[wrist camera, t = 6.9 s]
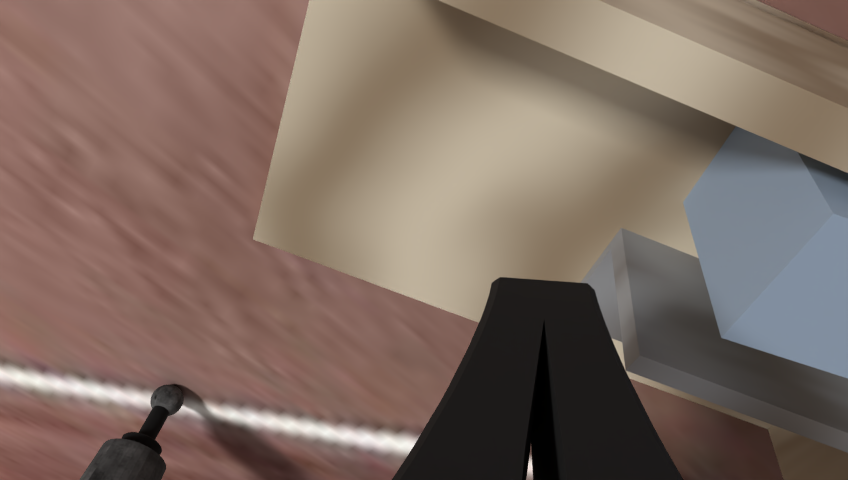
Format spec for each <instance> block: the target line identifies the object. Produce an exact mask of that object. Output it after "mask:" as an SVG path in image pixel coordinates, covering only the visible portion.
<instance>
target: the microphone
mask: <svg viewBox="0 0 848 480" xmlns="http://www.w3.org/2000/svg"><path fill="white" fill-rule="evenodd" d="M182 404H183V394H182V392H181V390H180V389H179V388H178V387H176V386H174V385H163V386H161V387H159V388H158V389H156V390H155V391H154V393H153V394H152V397H151V407H152V411H151V412H150V414H149V416H148V417H147V419H146V421H145V423H144V424H143V426H142V428H141V429H140V431H139V433H137V432H130V433H126V434H124V435H123V437H122V439H110V440H108V441H106V442H105V443H104V444H103V445H102V447H101V448H100V450H99V451H98V453H97V454H96V456H95V457H94V459H93V460H92V462H91V463H90V465H89V466H88V468H87V469H86V471H85V472H84V474H83V475H82V477H81V478H80V480H161V479H162V476H163V474H164V472H165V470H166V464H165V462H164V460H163V459H162V457H161V456H160V454H161V452H162V449H161V446H160V445H159V443H158V442H157V441H156V440H155V439H156V437H157V435H158V433H159V431H160V430H161V428H162V426H163V424H164V422H165V420H166V419H167V417H168V416H170V415H173V414H175V413H176V412H177V411H178V410H179V409H180V408H181V406H182Z"/></svg>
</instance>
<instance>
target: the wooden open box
mask: <svg viewBox="0 0 848 480" xmlns="http://www.w3.org/2000/svg"><path fill="white" fill-rule="evenodd" d="M736 126H737V127H740V128H742V129H744V130H747V131H749V132H752V133H754V134H756V135H759V136H761V137H763V138H766V139H768V140H770V141H773V142H775V143H778V144H780V145H782V146H785V147H787V148H789V149H792V150H794V151H797V152H799V153H801V154H804V155H806V156H808V157H811V158H813V159H816V160H818V161H820V162H823V163H825V164H827V165H830V166H832V167H835V168H837V169H839V170H842V171H844V172H846V173H848V41H847V40H844V39H842V38H840V37H838V36H835V35H833V34H831V33H829V32H827V31H824V30H822V29H820V28H818V27H815V26H813V25H811V24H809V23H806V22H804V21H802V20H800V19H797V18H795V17H793V16H791V15H788V14H786V13H784V12H782V11H779V10H777V9H775V8H773V7H770V6H768V5H766V4H764V3H761V2H759V1H757V0H309V5H308V9H307V13H306V17H305V22H304V26H303V30H302V34H301V38H300V43H299V47H298V51H297V55H296V60H295V64H294V68H293V72H292V76H291V81H290V85H289V89H288V93H287V98H286V102H285V106H284V110H283V114H282V119H281V123H280V127H279V131H278V136H277V140H276V144H275V148H274V152H273V157H272V161H271V165H270V169H269V174H268V178H267V182H266V186H265V190H264V195H263V199H262V203H261V207H260V212H259V216H258V220H257V224H256V228H255V233H254V237H253V239H254V240H256V241H259V242H262V243H265V244H267V245H270V246H273V247H275V248H278V249H281V250H284V251H286V252H289V253H292V254H294V255H297V256H300V257H302V258H305V259H308V260H311V261H313V262H316V263H319V264H321V265H324V266H327V267H330V268H332V269H335V270H338V271H340V272H343V273H346V274H349V275H351V276H354V277H357V278H359V279H362V280H365V281H367V282H370V283H373V284H376V285H378V286H381V287H384V288H386V289H389V290H392V291H395V292H397V293H400V294H403V295H405V296H408V297H411V298H414V299H416V300H419V301H422V302H424V303H427V304H430V305H432V306H435V307H438V308H441V309H443V310H446V311H449V312H451V313H454V314H457V315H460V316H462V317H465V318H468V319H470V320H473V321H476V322H480V319H481V317H482V314H483V312H484V309H485V306H486V303H487V300H488V296H489V293H490V288H491V284H492V282H493V281H495V280H496V279H498V278H499V277H507V278H521V279H535V280H549V281H563V282H577V283H588V284H589V285H590V286H591V287H592V288H593V289H594V290H595V293H596V297H597V300H598V303H599V306H600V309H601V312H602V315H603V318H604V320H605V323H606V326H607V328H608V331H609V333H610V336H611V338H612V341H613V343H614V345H615V348H616V350H617V352H618V355H619V357H620V359H621V362H622V364H623V366H624V368H625V370H626V373H627V375H628V377H629V378H630V379H633V380H636V381H638V382H641V383H644V384H646V385H649V386H652V387H655V388H657V389H660V390H663V391H665V392H668V393H671V394H674V395H676V396H679V397H682V398H684V399H687V400H690V401H693V402H695V403H698V404H701V405H703V406H706V407H709V408H711V409H714V410H717V411H720V412H722V413H725V414H728V415H730V416H733V417H736V418H739V419H741V420H744V421H747V422H749V423H752V424H755V425H758V426H760V427H763V428H766V429H768V432H769V435H770V438H771V441H772V444H773V448H774V451H775V454H776V457H777V460H778V464H779V467H780V470H781V473H782V476H783V480H848V378H845V377H842V376H839V375H835V374H832V373H829V372H826V371H823V370H820V369H817V368H814V367H811V366H807V365H804V364H801V363H798V362H795V361H792V360H789V359H786V358H783V357H779V356H776V355H773V354H770V353H767V352H764V351H761V350H758V349H754V348H751V347H748V346H745V345H742V344H739V343H736V342H733V341H730V340H726V339H723V338H721V335H720V332H719V328H718V325H717V321H716V318H715V314H714V311H713V307H712V303H711V300H710V296H709V293H708V289H707V286H706V282H705V279H704V275H703V272H702V268H701V265H700V261H699V257H698V254H697V250H696V247H695V243H694V240H693V236H692V233H691V229H690V226H689V222H688V219H687V215H686V211H685V208H684V204H683V202H684V200H685V199H686V197H687V196H688V194H689V193H690V191H691V190H692V189H693V187H694V186H695V184H696V183H697V181H698V180H699V179H700V177H701V176H702V174H703V173H704V171H705V170H706V168H707V167H708V166H709V164H710V163H711V161H712V160H713V158H714V157H715V156H716V154H717V153H718V151H719V150H720V148H721V147H722V145H723V144H724V143H725V141H726V140H727V138H728V137H729V135H730V134H731V133H732V131H733V130H734V128H735V127H736Z"/></svg>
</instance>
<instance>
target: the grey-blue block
mask: <svg viewBox="0 0 848 480" xmlns="http://www.w3.org/2000/svg"><path fill="white" fill-rule="evenodd" d="M683 204H684V208H685V211H686V215H687V219H688V222H689V226H690V229H691V233H692V236H693V240H694V243H695V247H696V250H697V254H698V257H699V261H700V265H701V268H702V272H703V275H704V279H705V282H706V286H707V289H708V293H709V296H710V300H711V303H712V307H713V311H714V314H715V318H716V321H717V325H718V328H719V332H720V335H721V338H723V339H726V340H730V341H733V342H736V343H739V344H742V345H745V346H748V347H751V348H754V349H758V350H761V351H764V352H767V353H770V354H773V355H776V356H779V357H783V358H786V359H789V360H792V361H795V362H798V363H801V364H804V365H807V366H811V367H814V368H817V369H820V370H823V371H826V372H829V373H832V374H835V375H839V376H842V377H845V378H848V173H846V172H844V171H842V170H839V169H837V168H835V167H832V166H830V165H827V164H825V163H823V162H820V161H818V160H816V159H813V158H811V157H808V156H806V155H804V154H801V153H799V152H797V151H794V150H792V149H789V148H787V147H785V146H782V145H780V144H778V143H775V142H773V141H770V140H768V139H766V138H763V137H761V136H759V135H756V134H754V133H752V132H749V131H747V130H744V129H742V128H740V127H737V126H736V127H735V128H734V130H733V131H732V133H731V134H730V135H729V137H728V138H727V140H726V141H725V143H724V144H723V145H722V147H721V148H720V150H719V151H718V153H717V154H716V156H715V157H714V158H713V160H712V161H711V163H710V164H709V166H708V167H707V168H706V170H705V171H704V173H703V174H702V176H701V177H700V179H699V180H698V181H697V183H696V184H695V186H694V187H693V189H692V190H691V191H690V193H689V194H688V196H687V197H686V199H685V200H684V202H683Z"/></svg>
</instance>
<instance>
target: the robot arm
mask: <svg viewBox="0 0 848 480" xmlns="http://www.w3.org/2000/svg"><path fill="white" fill-rule="evenodd" d="M530 446H531V447H532V465H533V480H683V478H682V477H681V475H680V473H679V471H678V470H677V468H676V466H675V465H674V463H673V461H672V459H671V458H670V456H669V454H668V452H667V451H666V449H665V447H664V445H663V443H662V442H661V440H660V438H659V436H658V434H657V432H656V430H655V429H654V427H653V425H652V423H651V421H650V419H649V417H648V415H647V413H646V411H645V409H644V407H643V405H642V403H641V401H640V399H639V397H638V395H637V393H636V391H635V389H634V387H633V385H632V383H631V381H630V379H629V377H628V375H627V373H626V370H625V368H624V366H623V364H622V362H621V359H620V357H619V355H618V352H617V350H616V348H615V345H614V343H613V341H612V338H611V336H610V333H609V331H608V328H607V326H606V323H605V320H604V318H603V315H602V312H601V309H600V306H599V303H598V300H597V297H596V293H595V290H594V289H593V288H592V287H591V286H590V285H589V284H588V283H577V282H563V281H549V280H535V279H521V278H507V277H499V278H498V279H496V280H495V281H493V282H492V284H491V288H490V293H489V296H488V300H487V303H486V306H485V309H484V312H483V314H482V317H481V319H480V322H479V324H478V327H477V329H476V331H475V334H474V336H473V338H472V340H471V343H470V345H469V347H468V349H467V352H466V353H465V355H464V357H463V359H462V361H461V363H460V365H459V367H458V369H457V371H456V373H455V375H454V377H453V379H452V381H451V383H450V385H449V387H448V389H447V391H446V392H445V394H444V396H443V398H442V400H441V402H440V403H439V405H438V407H437V408H436V410H435V412H434V413H433V415H432V417H431V418H430V420H429V422H428V423H427V425H426V427H425V428H424V430H423V432H422V433H421V435H420V437H419V438H418V440H417V442H416V443H415V445H414V447H413V448H412V450H411V451H410V453H409V455H408V456H407V458H406V459H405V461H404V462H403V464H402V465H401V467H400V468H399V470H398V471H397V473H396V474H395V476H394V477H393V479H392V480H526V476H527V469H528V461H529V453H530Z"/></svg>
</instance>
